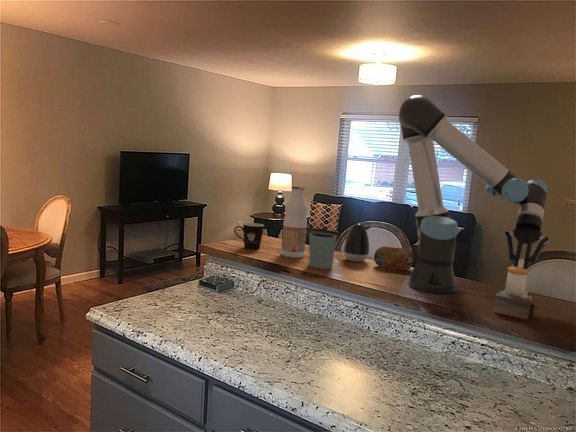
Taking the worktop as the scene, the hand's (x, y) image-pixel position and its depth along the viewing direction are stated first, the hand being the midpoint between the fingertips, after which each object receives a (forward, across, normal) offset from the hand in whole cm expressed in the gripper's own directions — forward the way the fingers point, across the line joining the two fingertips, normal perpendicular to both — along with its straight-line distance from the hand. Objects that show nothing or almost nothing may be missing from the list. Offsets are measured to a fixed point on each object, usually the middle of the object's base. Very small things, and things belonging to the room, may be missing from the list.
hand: (518, 279), depth 146 cm
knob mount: (+7, 0, -5) cm, 9 cm away
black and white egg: (-8, +60, -20) cm, 64 cm away
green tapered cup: (+7, +66, -5) cm, 67 cm away
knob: (+9, 0, 0) cm, 9 cm away
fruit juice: (+1, +82, -11) cm, 83 cm away
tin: (-7, +45, -20) cm, 49 cm away
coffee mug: (+2, +102, -10) cm, 103 cm away
